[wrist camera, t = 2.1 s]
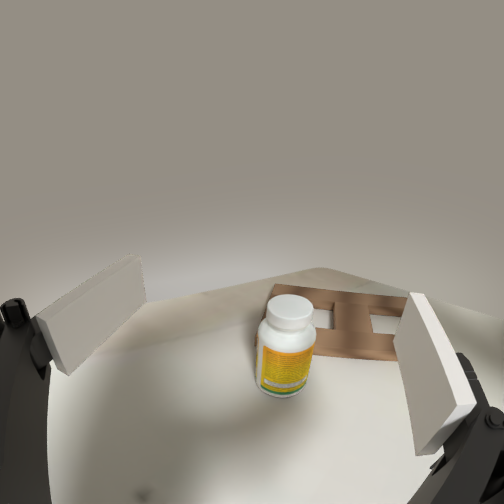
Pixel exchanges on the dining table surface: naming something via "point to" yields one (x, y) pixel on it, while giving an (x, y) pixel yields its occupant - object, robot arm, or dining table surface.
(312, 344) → the supplement bottle
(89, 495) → the dining table surface
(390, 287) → the dining table surface
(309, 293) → the rail
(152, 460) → the dining table surface
